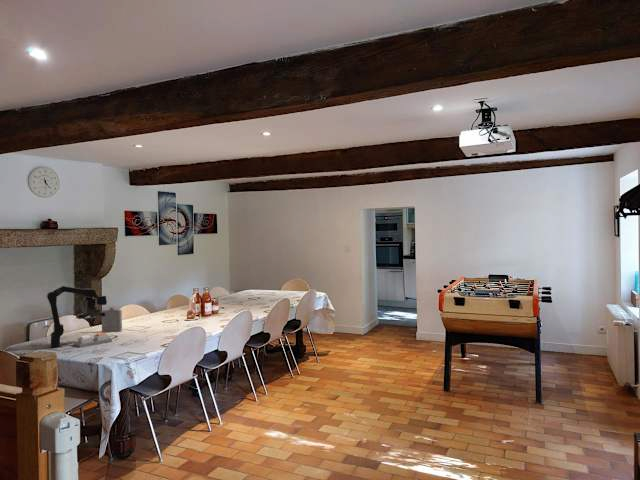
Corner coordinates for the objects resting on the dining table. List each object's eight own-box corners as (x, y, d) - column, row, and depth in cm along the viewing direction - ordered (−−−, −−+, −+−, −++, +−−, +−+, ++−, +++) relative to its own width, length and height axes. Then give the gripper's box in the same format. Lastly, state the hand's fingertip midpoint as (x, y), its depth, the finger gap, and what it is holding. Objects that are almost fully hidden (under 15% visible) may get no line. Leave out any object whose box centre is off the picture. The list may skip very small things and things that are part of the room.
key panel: (74, 344, 324) (74, 337, 324) (105, 339, 340) (105, 332, 340) (80, 347, 316) (80, 340, 316) (112, 341, 332) (111, 335, 332)
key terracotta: (96, 337, 332) (96, 333, 332) (103, 336, 336) (103, 332, 336) (98, 338, 329) (98, 334, 329) (105, 337, 332) (105, 333, 332)
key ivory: (80, 340, 324) (80, 336, 324) (87, 339, 328) (87, 335, 328) (82, 341, 321) (82, 337, 321) (90, 340, 324) (90, 336, 324)
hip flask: (101, 332, 365) (100, 307, 365) (103, 331, 369) (102, 307, 369) (121, 331, 366) (120, 307, 366) (123, 330, 370) (122, 306, 370)
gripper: (81, 308, 319) (81, 330, 319) (108, 305, 333) (108, 326, 333) (75, 306, 327) (75, 327, 327) (102, 304, 341) (102, 324, 341)
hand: (90, 326), depth 332 cm, fingers closed
